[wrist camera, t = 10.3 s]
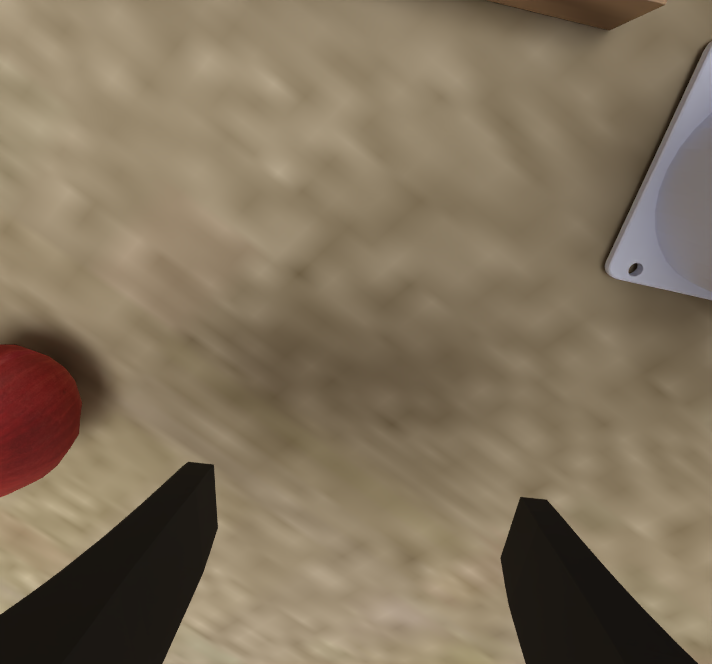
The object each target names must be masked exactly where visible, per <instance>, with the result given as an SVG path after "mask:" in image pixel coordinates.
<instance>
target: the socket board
mask: <svg viewBox="0 0 712 664" xmlns="http://www.w3.org/2000/svg"><path fill="white" fill-rule="evenodd" d="M487 1H491V2H496V3H500V4H504V5H508V6H512V7H516V8H520V9H524V10H528V11H532V12H536V13H541V14H545V15H549V16H553V17H557V18H561V19H565V20H569V21H573V22H577V23H581V24H586V25H590V26H594V27H598V28H602V29H606V30H611V29H613V28H616V27H618V26H620V25H622V24H624V23H626V22H629V21H631V20H633V19H635V18H637V17H639V16H642V15H644V14H646V13H648V12H650V11H652V10H655V9H657V8H659V7H661V6H663V5H665V4H666V2H667V0H487Z"/></svg>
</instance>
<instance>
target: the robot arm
mask: <svg viewBox="0 0 712 664" xmlns="http://www.w3.org/2000/svg"><path fill="white" fill-rule="evenodd" d="M634 263H637V264H638V265H637V269H636V270H635V271H634V272H632V273H628V270H629V267H630V266H631V265H632V264H634ZM605 271H606V272H607V274H608V275H610V276H611V277H613V278H615V279H619V280H623V281H628V282H632V283H637V284H641V285H646V286H650V287H655V288H659V289H664V290H668V291H673V292H677V293H682V294H686V295H691V296H695V297H700V298H704V299H709V300H712V41H711V42H710V43H709V44H708V45H707V46H706V48H705V50H704V51H703V53H702V56H701V58H700V60H699V62H698V64H697V66H696V68H695V71H694V73H693V75H692V77H691V79H690V81H689V84H688V86H687V88H686V90H685V92H684V94H683V97H682V99H681V101H680V103H679V105H678V107H677V109H676V112H675V114H674V116H673V118H672V120H671V122H670V125H669V127H668V129H667V131H666V133H665V135H664V137H663V140H662V142H661V144H660V146H659V148H658V150H657V153H656V155H655V157H654V159H653V161H652V163H651V166H650V168H649V170H648V172H647V174H646V176H645V178H644V181H643V183H642V185H641V187H640V189H639V191H638V194H637V196H636V198H635V200H634V202H633V204H632V207H631V209H630V211H629V213H628V215H627V217H626V219H625V222H624V224H623V226H622V228H621V230H620V232H619V235H618V237H617V239H616V241H615V243H614V245H613V248H612V250H611V252H610V254H609V256H608V258H607V260H606V264H605ZM217 529H218V523H217V508H216V492H215V476H214V465H212V464H203V463H193V462H188V463H186V464H185V465H184V466H182V467H181V468H180V469H179V470H178V471H177V472H176V473H175V474H174V475H173V476H171V477H170V478H169V479H168V480H167V481H166V482H165V483H164V484H163V485H162V486H161V487H160V488H158V489H157V490H156V491H155V492H154V493H153V494H152V495H151V496H150V497H149V498H147V499H146V500H145V501H144V502H143V503H142V504H141V505H140V506H139V507H137V508H136V509H135V510H134V511H133V512H132V513H130V514H129V515H128V516H127V517H126V518H125V519H124V520H122V521H121V522H120V523H119V524H118V525H117V526H115V527H114V528H113V529H112V530H111V531H110V532H109V533H107V534H106V535H105V536H104V537H103V538H101V539H100V540H99V541H98V542H96V543H95V544H94V545H93V546H91V547H90V548H89V549H88V550H86V551H85V552H84V553H83V554H81V555H80V556H79V557H78V558H76V559H75V560H74V561H73V562H71V563H70V564H69V565H68V566H66V567H65V568H64V569H63V570H61V571H60V572H59V573H57V574H56V575H55V576H53V577H52V578H51V579H49V580H48V581H47V582H45V583H44V584H43V585H41V586H40V587H39V588H37V589H36V590H35V591H33V592H32V593H30V594H29V595H28V596H26V597H25V598H23V599H22V600H21V601H19V602H18V603H16V604H15V605H14V606H12V607H11V608H9V609H8V610H6V611H5V612H4V613H2V614H1V615H0V664H162V663H163V661H164V659H165V657H166V654H167V652H168V650H169V648H170V646H171V643H172V641H173V639H174V637H175V634H176V632H177V630H178V628H179V626H180V623H181V621H182V619H183V617H184V615H185V612H186V610H187V608H188V606H189V603H190V601H191V599H192V597H193V594H194V592H195V590H196V588H197V585H198V583H199V581H200V579H201V576H202V574H203V572H204V569H205V566H206V563H207V560H208V557H209V554H210V551H211V548H212V544H213V541H214V538H215V535H216V532H217ZM501 564H502V570H503V576H504V582H505V587H506V593H507V598H508V603H509V608H510V611H511V615H512V618H513V622H514V625H515V629H516V632H517V635H518V639H519V642H520V646H521V649H522V653H523V656H524V659H525V663H526V664H698V663H697V662H696V661H695V660H694V659H693V658H692V657H691V656H690V655H689V654H688V653H687V652H685V651H684V650H683V649H682V648H681V647H680V646H679V645H678V644H677V643H676V642H675V641H674V640H673V639H672V638H671V637H670V636H669V635H668V634H667V633H666V631H665V630H664V629H663V628H662V627H661V626H660V625H659V624H658V623H657V622H656V621H655V620H654V619H653V618H652V617H651V616H650V615H649V614H648V613H647V612H646V611H645V610H644V609H643V608H642V607H641V606H640V605H639V604H638V602H637V601H636V600H635V599H634V598H633V597H632V596H631V595H630V594H629V593H628V592H627V591H626V590H625V589H624V587H623V586H622V585H621V584H620V583H619V582H618V581H617V580H616V579H615V578H614V576H613V575H612V574H611V573H610V572H609V571H608V570H607V569H606V567H605V566H604V565H603V564H602V563H601V562H600V561H599V560H598V558H597V557H596V556H595V555H594V554H593V553H592V552H591V550H590V549H589V548H588V547H587V546H586V545H585V543H584V542H583V541H582V540H581V539H580V538H579V537H578V535H577V534H576V533H575V532H574V531H573V529H572V528H571V527H570V526H569V525H568V524H567V522H566V521H565V520H564V519H563V518H562V517H561V515H560V514H559V513H558V512H557V511H556V510H555V509H554V507H553V506H552V505H551V504H550V503H549V502H548V501H547V500H544V499H534V498H525V497H520V500H519V503H518V506H517V509H516V512H515V515H514V518H513V521H512V524H511V528H510V531H509V534H508V537H507V540H506V543H505V546H504V549H503V552H502V555H501Z"/></svg>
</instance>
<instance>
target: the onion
mask: <svg viewBox="0 0 712 664" xmlns="http://www.w3.org/2000/svg"><path fill="white" fill-rule="evenodd" d="M81 407H82V401H81V398H80V395H79V391H78V388H77V385H76V382H75V380H74V379H73V378H72V376H71V375H70V374H69V372H68V371H67V370H66V368H65V367H63V366H62V365H60V364H59V363H58V362H56V361H55V360H53V359H52V358H51V357H49V356H47V355H44V354H41V353H39V352H36V351H33V350H30V349H27V348H24V347H21V346H18V345H0V497H2V496H5V495H7V494H10V493H12V492H14V491H16V490H18V489H20V488H22V487H25V486H27V485H29V484H31V483H33V482H35V481H37V480H39V479H41V478H43V477H44V476H45V475H46V474H48V473H49V472H50V471H51V470H53V469H54V468H55V467H56V466H57V465H58V464H59V463H60V461H61V460H62V458H63V457H64V456H65V454H66V453H67V452H68V450H69V449H70V448H71V446H72V444H73V443H74V441H75V439H76V438H77V436H78V434H79V426H80V415H81Z"/></svg>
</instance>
